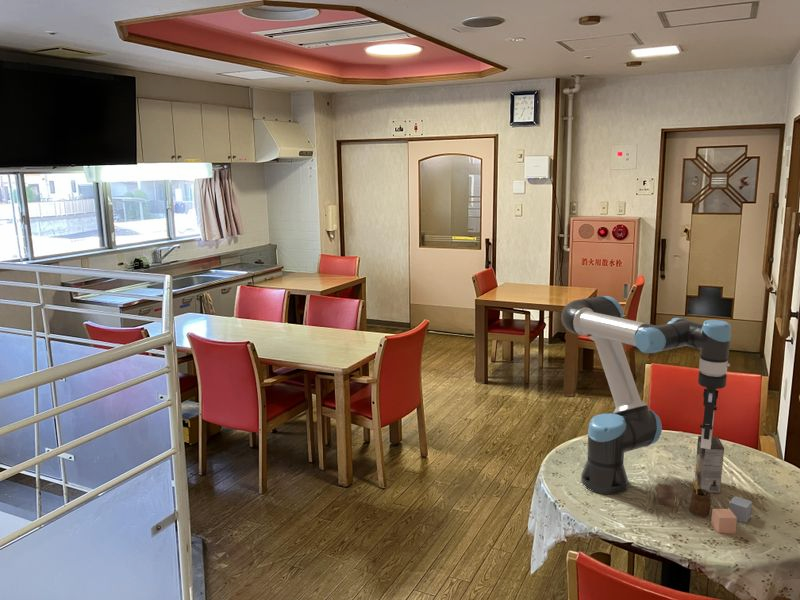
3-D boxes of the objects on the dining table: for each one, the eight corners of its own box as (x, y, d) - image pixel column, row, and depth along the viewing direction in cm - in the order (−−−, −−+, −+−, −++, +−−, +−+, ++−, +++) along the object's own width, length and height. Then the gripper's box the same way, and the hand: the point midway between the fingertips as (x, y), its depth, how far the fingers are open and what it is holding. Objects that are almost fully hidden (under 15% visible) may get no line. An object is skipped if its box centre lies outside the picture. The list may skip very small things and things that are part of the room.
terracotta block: (718, 533, 194) (719, 517, 193) (711, 523, 199) (712, 508, 197) (735, 533, 193) (737, 517, 192) (728, 523, 198) (729, 508, 197)
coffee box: (693, 478, 225) (697, 435, 222) (713, 479, 224) (717, 436, 220) (700, 492, 216) (704, 446, 213) (721, 493, 215) (725, 448, 212)
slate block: (727, 517, 202) (729, 502, 201) (733, 510, 205) (734, 496, 204) (745, 523, 198) (746, 508, 197) (750, 516, 202) (752, 501, 201)
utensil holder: (714, 514, 203) (717, 479, 200) (700, 520, 200) (703, 484, 198) (698, 505, 208) (701, 471, 206) (684, 510, 206) (687, 475, 203)
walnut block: (657, 505, 209) (658, 491, 208) (656, 497, 214) (657, 483, 213) (674, 507, 208) (675, 493, 206) (673, 499, 212) (674, 485, 211)
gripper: (725, 388, 182) (718, 458, 187) (727, 361, 203) (721, 425, 208) (696, 384, 185) (690, 453, 190) (701, 358, 207) (695, 421, 212)
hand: (706, 439), depth 199 cm, fingers open, 13 cm apart
